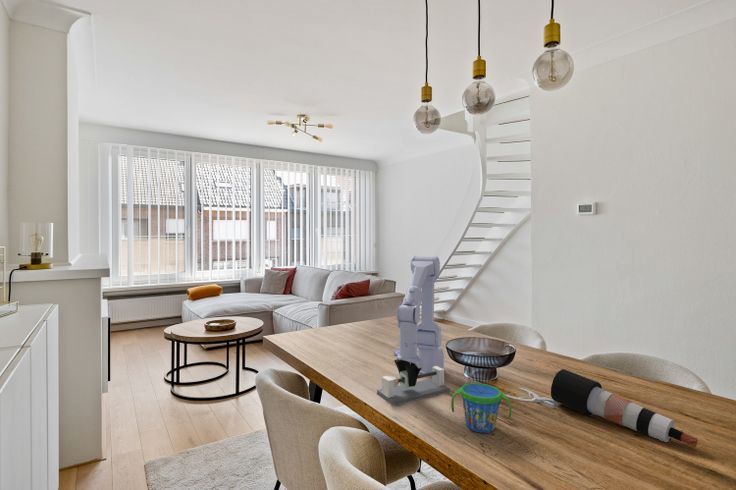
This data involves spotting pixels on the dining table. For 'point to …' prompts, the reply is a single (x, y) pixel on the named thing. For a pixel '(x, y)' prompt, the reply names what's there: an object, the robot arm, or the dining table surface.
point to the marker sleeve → (403, 375)
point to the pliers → (536, 399)
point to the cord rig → (420, 391)
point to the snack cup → (481, 405)
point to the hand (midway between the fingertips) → (408, 383)
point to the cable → (612, 407)
